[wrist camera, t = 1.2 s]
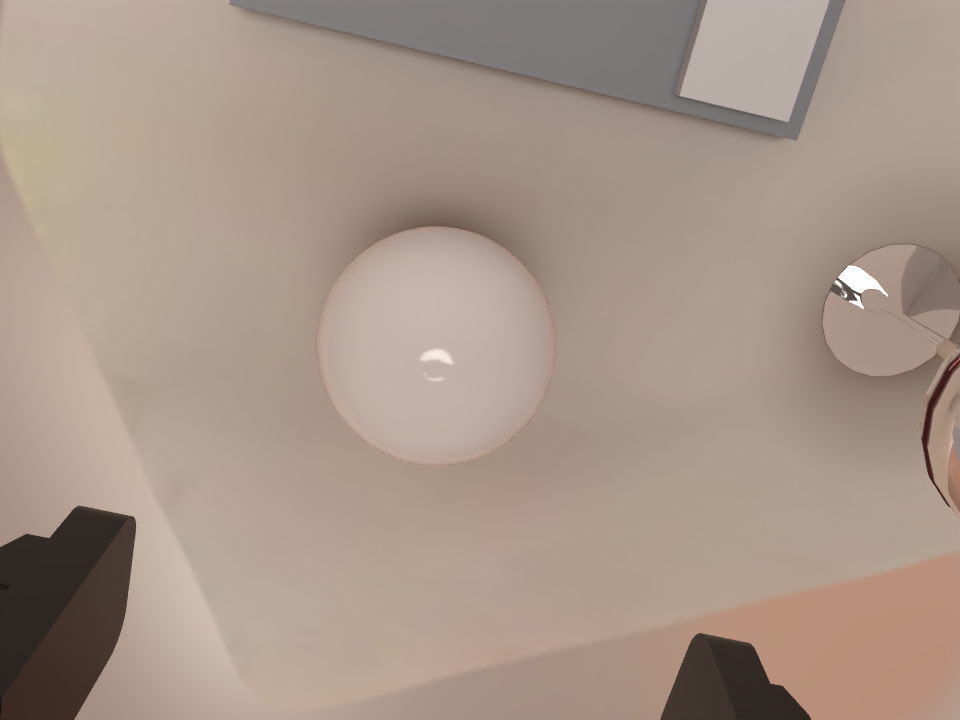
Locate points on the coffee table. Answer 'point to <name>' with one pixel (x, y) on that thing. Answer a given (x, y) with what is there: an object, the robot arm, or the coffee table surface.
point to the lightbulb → (436, 345)
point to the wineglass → (905, 340)
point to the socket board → (617, 46)
